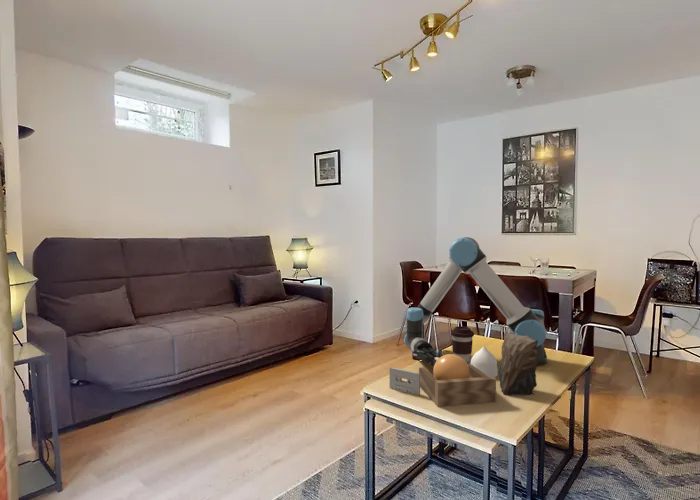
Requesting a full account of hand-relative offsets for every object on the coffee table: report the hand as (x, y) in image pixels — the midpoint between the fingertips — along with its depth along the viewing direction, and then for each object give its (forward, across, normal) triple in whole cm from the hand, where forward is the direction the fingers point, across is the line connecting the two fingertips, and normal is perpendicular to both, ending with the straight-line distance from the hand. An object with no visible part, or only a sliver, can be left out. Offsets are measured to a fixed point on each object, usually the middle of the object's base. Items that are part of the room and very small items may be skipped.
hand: (442, 366), depth 160 cm
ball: (+7, -1, 0) cm, 7 cm away
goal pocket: (+10, -1, -7) cm, 12 cm away
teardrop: (-7, -21, -7) cm, 23 cm away
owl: (+11, -23, -7) cm, 26 cm away
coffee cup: (-23, -18, -7) cm, 30 cm away
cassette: (+5, +17, -7) cm, 19 cm away
